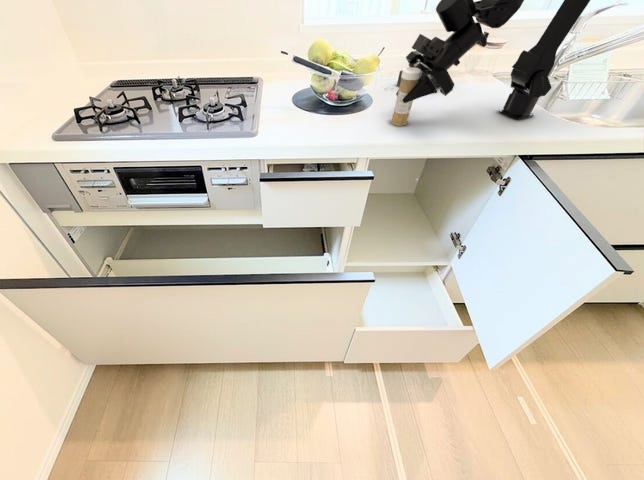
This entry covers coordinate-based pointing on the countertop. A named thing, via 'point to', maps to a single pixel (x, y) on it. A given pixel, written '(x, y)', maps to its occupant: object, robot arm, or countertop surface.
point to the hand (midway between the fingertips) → (399, 98)
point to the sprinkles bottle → (407, 83)
